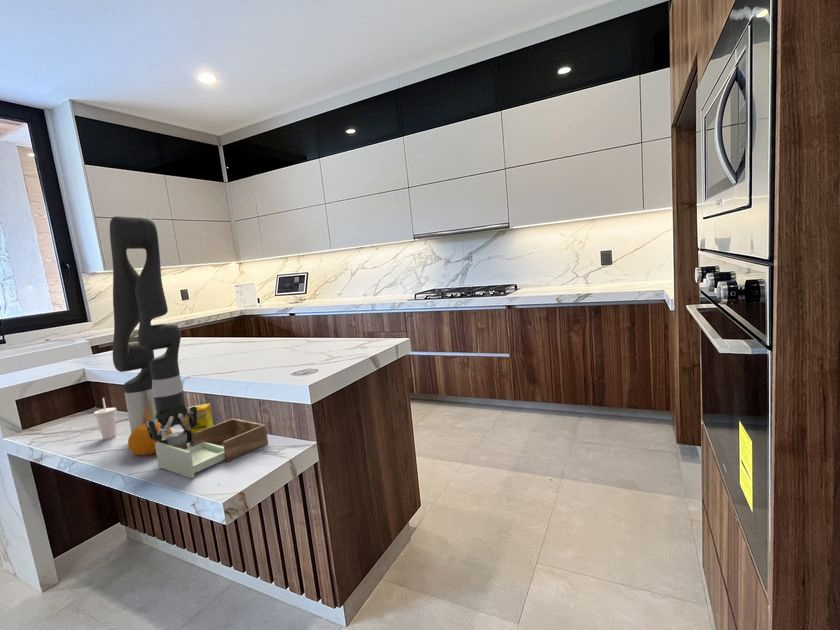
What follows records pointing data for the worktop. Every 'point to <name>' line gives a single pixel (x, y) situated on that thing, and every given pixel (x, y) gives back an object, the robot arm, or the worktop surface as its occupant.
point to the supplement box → (202, 418)
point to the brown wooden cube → (183, 446)
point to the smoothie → (106, 421)
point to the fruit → (143, 440)
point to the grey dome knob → (177, 439)
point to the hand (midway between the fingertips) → (176, 446)
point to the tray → (188, 457)
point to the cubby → (234, 437)
